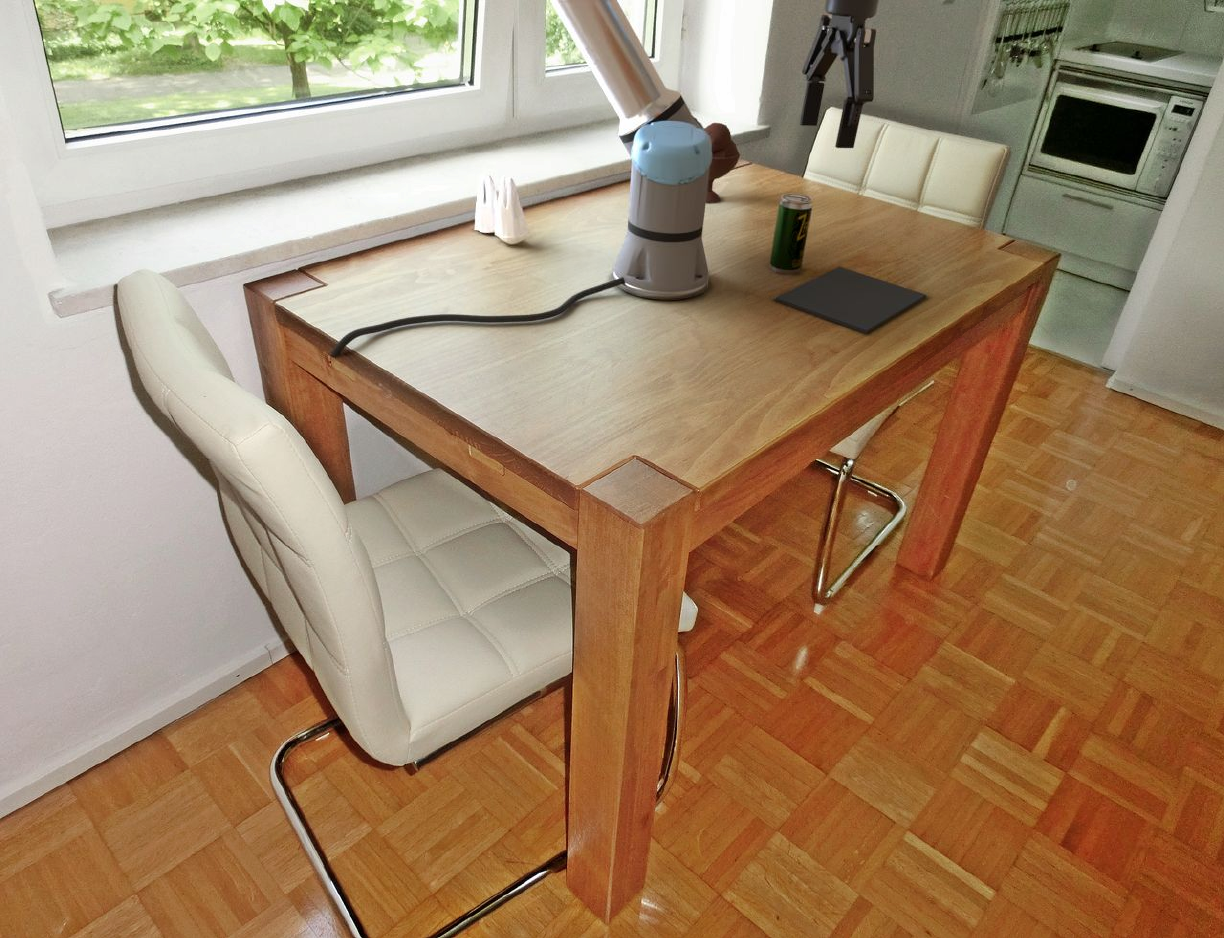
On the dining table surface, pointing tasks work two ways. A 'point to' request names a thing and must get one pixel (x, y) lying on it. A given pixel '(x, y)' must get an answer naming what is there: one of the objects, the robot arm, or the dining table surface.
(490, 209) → the shaker set
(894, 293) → the place mat
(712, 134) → the ice cream bowl
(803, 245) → the beer can
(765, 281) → the dining table surface
